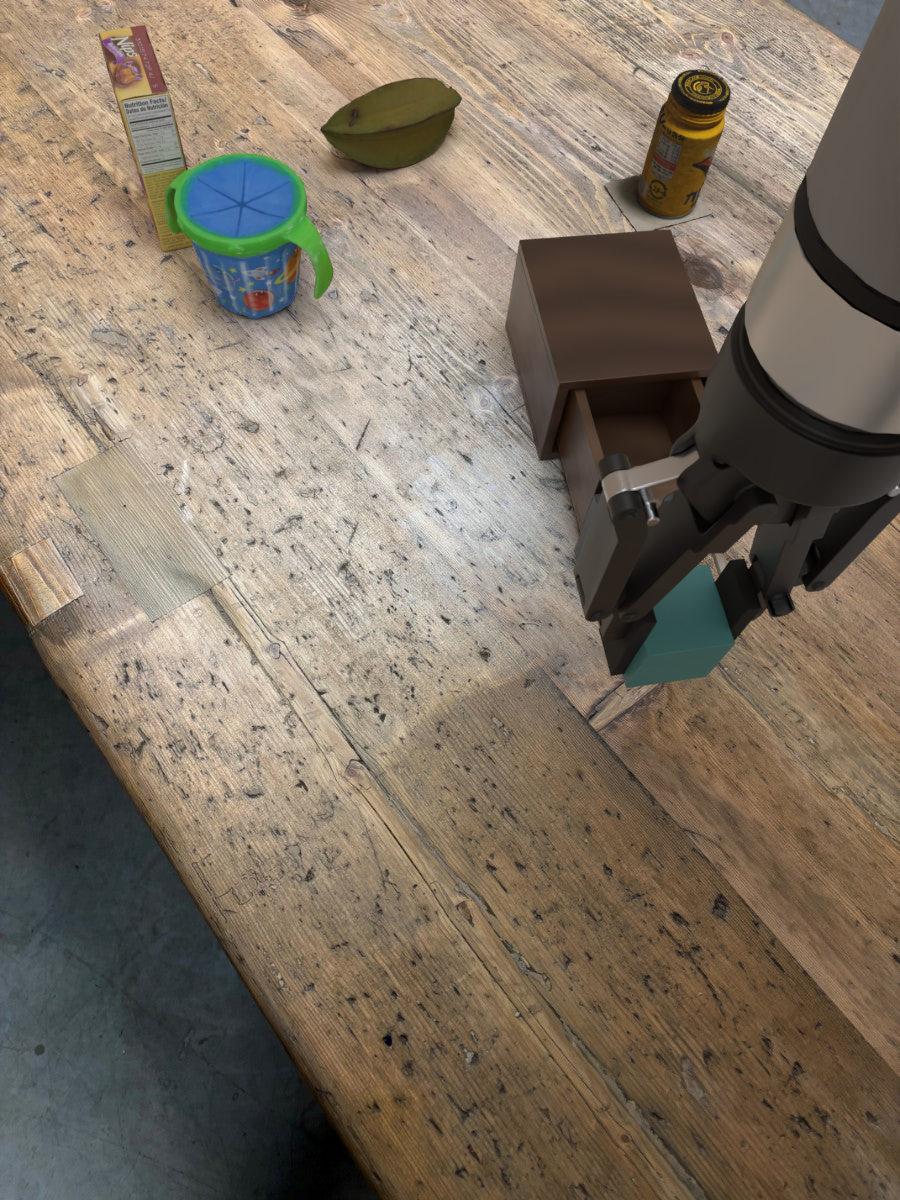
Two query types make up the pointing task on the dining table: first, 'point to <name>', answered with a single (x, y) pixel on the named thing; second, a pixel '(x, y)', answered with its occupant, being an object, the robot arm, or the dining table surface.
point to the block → (683, 634)
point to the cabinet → (601, 320)
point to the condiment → (677, 155)
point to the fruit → (394, 123)
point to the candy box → (146, 120)
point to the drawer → (622, 435)
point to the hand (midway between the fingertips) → (658, 644)
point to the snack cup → (248, 230)
